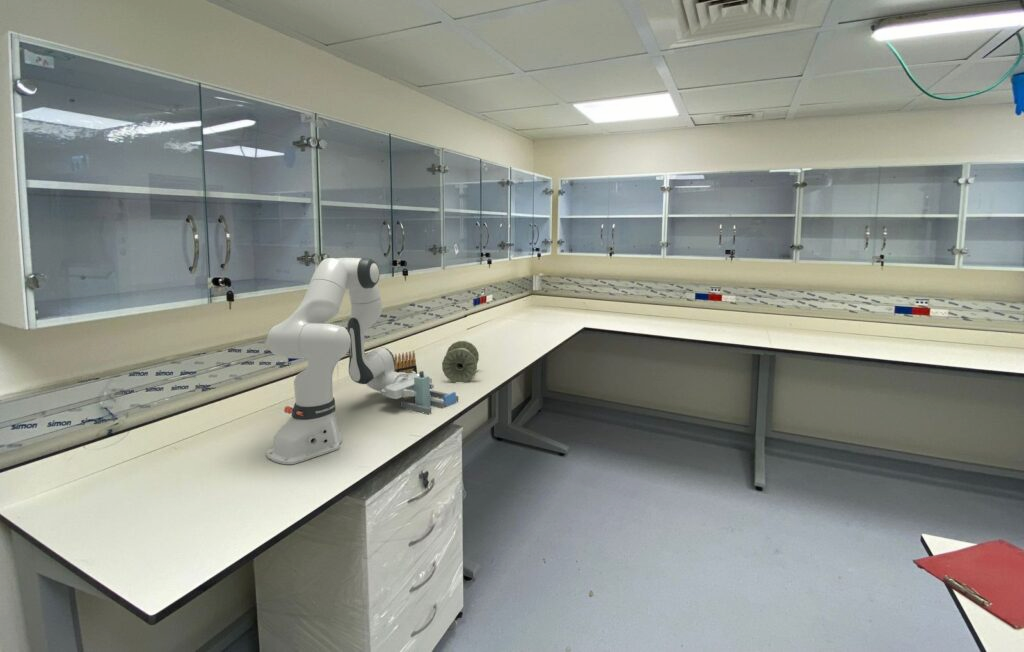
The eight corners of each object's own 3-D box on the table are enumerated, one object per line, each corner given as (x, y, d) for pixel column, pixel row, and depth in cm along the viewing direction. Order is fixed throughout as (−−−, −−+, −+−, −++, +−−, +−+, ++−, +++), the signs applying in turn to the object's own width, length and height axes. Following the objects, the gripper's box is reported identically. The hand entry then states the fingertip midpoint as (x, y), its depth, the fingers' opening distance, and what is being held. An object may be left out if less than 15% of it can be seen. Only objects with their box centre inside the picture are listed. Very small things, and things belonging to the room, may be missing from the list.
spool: (477, 382, 225) (476, 349, 222) (442, 383, 225) (441, 349, 222) (478, 371, 241) (478, 340, 238) (446, 372, 241) (445, 341, 238)
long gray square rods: (428, 414, 188) (428, 404, 187) (401, 407, 196) (400, 397, 195) (458, 401, 202) (458, 391, 201) (432, 394, 210) (431, 385, 209)
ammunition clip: (415, 374, 237) (414, 349, 235) (417, 375, 236) (416, 350, 234) (394, 379, 231) (392, 353, 229) (396, 380, 229) (394, 354, 227)
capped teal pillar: (423, 409, 193) (421, 373, 190) (415, 407, 195) (413, 372, 192) (430, 406, 196) (429, 371, 193) (422, 404, 198) (421, 369, 195)
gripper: (376, 383, 192) (403, 389, 185) (415, 370, 209) (441, 375, 201) (378, 399, 193) (404, 406, 186) (416, 385, 210) (442, 390, 202)
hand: (423, 389), depth 194 cm, fingers open, 8 cm apart
